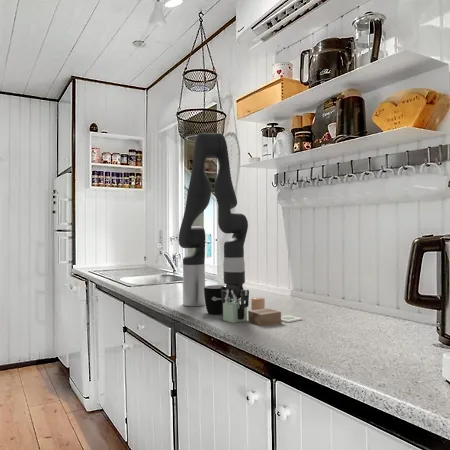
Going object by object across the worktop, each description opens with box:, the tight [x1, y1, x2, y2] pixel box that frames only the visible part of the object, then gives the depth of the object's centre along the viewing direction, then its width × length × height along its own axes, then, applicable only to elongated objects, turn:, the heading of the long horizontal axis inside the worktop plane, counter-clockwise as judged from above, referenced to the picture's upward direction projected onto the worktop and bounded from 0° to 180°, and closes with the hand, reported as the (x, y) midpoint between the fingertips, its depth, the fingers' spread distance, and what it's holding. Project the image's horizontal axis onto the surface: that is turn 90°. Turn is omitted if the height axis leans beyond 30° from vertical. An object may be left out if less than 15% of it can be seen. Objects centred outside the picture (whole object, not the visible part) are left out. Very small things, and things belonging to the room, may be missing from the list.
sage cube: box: [222, 301, 248, 323], centre depth 151 cm, size 6×6×6 cm
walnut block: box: [247, 307, 282, 327], centre depth 147 cm, size 8×8×4 cm
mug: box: [204, 284, 235, 316], centre depth 164 cm, size 12×9×10 cm
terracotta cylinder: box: [250, 297, 266, 310], centre depth 159 cm, size 5×5×6 cm
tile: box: [281, 314, 303, 323], centre depth 150 cm, size 7×7×1 cm
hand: (235, 317), depth 151 cm, fingers open, 6 cm apart
